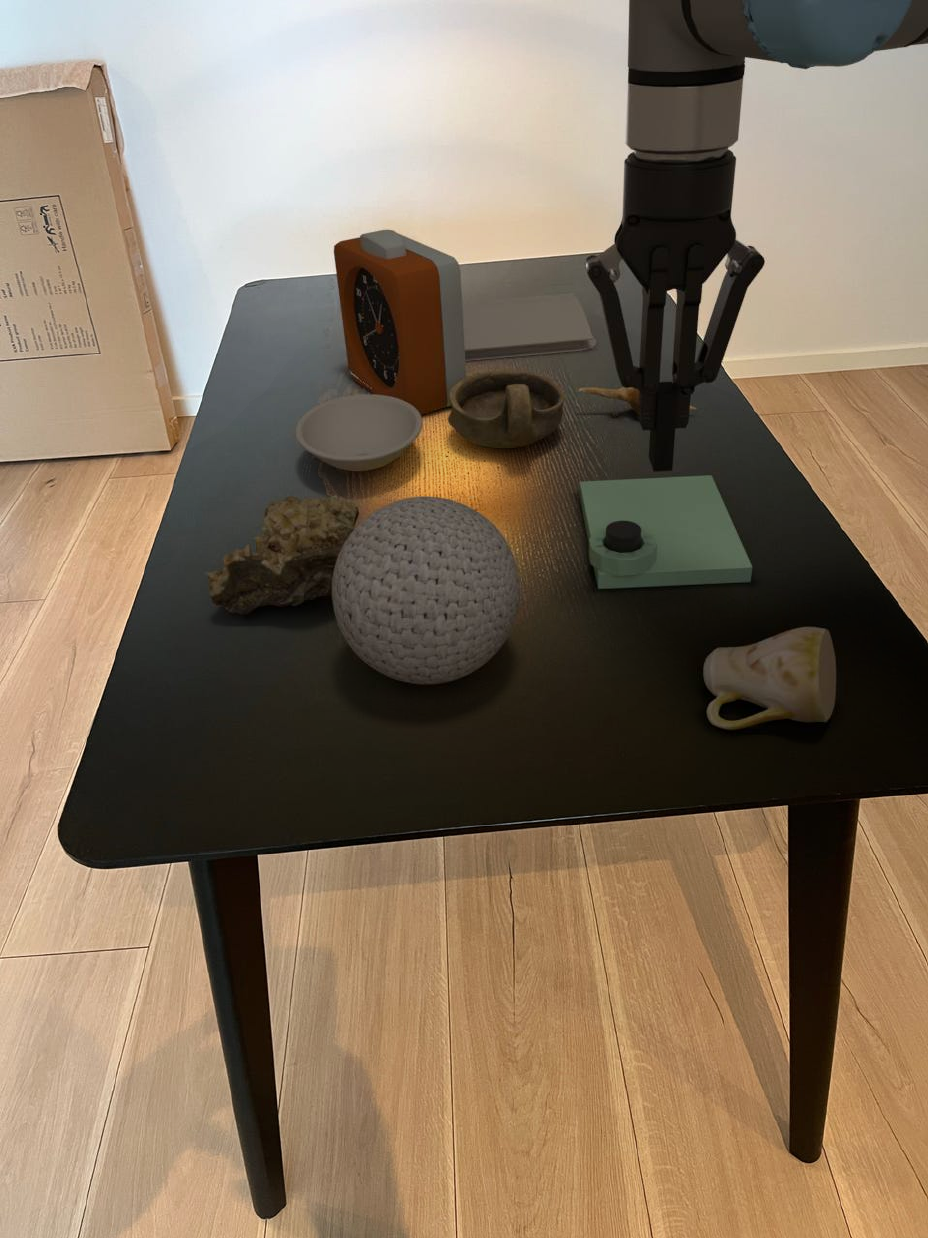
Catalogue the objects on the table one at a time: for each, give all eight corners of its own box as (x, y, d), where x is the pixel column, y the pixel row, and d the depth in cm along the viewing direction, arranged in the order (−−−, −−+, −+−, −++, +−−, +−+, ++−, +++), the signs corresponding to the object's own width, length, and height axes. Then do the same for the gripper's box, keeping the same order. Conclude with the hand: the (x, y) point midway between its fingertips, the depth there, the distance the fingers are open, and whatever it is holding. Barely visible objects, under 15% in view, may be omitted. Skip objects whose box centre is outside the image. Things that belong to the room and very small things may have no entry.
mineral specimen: (259, 543, 100) (241, 455, 94) (382, 547, 98) (371, 457, 92) (210, 627, 88) (186, 533, 83) (348, 633, 87) (334, 537, 81)
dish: (435, 491, 107) (432, 449, 104) (304, 508, 106) (297, 466, 103) (415, 425, 121) (412, 387, 118) (299, 439, 120) (293, 401, 117)
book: (432, 327, 150) (430, 301, 148) (579, 313, 151) (580, 288, 149) (440, 363, 138) (438, 336, 135) (600, 349, 139) (601, 321, 136)
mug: (700, 663, 81) (776, 575, 75) (796, 740, 79) (881, 655, 73) (673, 697, 75) (754, 604, 69) (776, 782, 73) (867, 693, 67)
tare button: (642, 553, 89) (643, 537, 88) (607, 555, 89) (608, 538, 88) (637, 535, 91) (638, 519, 90) (603, 537, 91) (603, 521, 90)
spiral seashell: (680, 401, 123) (683, 366, 121) (696, 416, 119) (698, 380, 116) (576, 414, 122) (576, 380, 119) (588, 430, 117) (588, 394, 115)
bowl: (553, 410, 123) (553, 332, 117) (581, 473, 109) (582, 388, 103) (444, 420, 122) (439, 342, 116) (458, 485, 108) (452, 400, 102)
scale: (752, 585, 89) (756, 553, 87) (592, 593, 90) (593, 560, 87) (710, 489, 104) (713, 459, 102) (573, 495, 105) (574, 466, 103)
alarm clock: (347, 377, 135) (327, 222, 123) (403, 363, 139) (389, 210, 127) (410, 422, 122) (394, 253, 110) (470, 405, 125) (461, 239, 113)
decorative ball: (548, 632, 85) (547, 479, 76) (477, 743, 74) (467, 579, 65) (396, 598, 90) (379, 451, 82) (310, 697, 80) (280, 540, 71)
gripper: (762, 134, 69) (730, 439, 83) (579, 145, 70) (576, 448, 83) (791, 154, 63) (751, 480, 77) (590, 166, 64) (585, 489, 77)
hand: (660, 463), depth 80 cm, fingers closed
